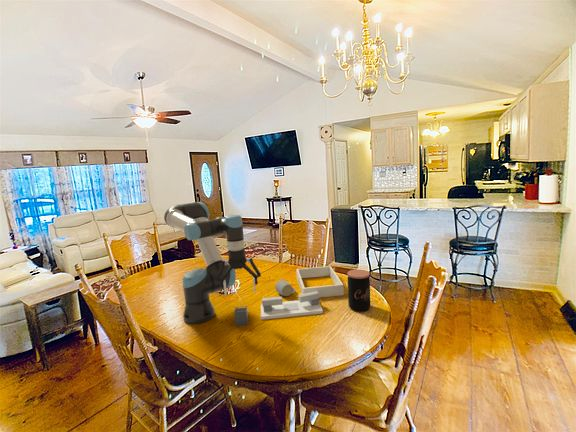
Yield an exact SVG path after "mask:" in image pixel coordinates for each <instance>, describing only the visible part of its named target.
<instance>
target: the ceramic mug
mask: <svg viewBox="0 0 576 432" xmlns="http://www.w3.org/2000/svg"><path fill="white" fill-rule="evenodd" d="M275 291H276V293H278V294H280V295H281V296H283V297H285V298H286V297H287V298H288V297H290V296H291V295H292V294H296V292H297V289H295V288H293V286H292V284H290V283H289V282H288V281H286V280H284V279H280V280H278V281H277V282H276V283H275Z"/></svg>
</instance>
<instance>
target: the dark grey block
mask: <svg viewBox="0 0 576 432" xmlns="http://www.w3.org/2000/svg"><path fill="white" fill-rule="evenodd" d="M233 312H234V322H235V327H244V326H249V325H248V324H249V314H248V313H249V312H248V306H247V305H242V306H241V305H240V306H235V307H234V311H233Z"/></svg>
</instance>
